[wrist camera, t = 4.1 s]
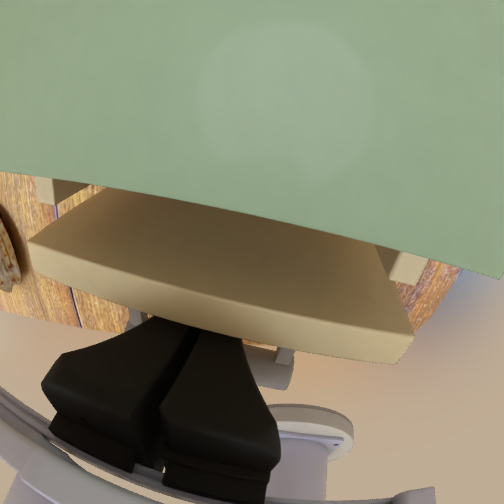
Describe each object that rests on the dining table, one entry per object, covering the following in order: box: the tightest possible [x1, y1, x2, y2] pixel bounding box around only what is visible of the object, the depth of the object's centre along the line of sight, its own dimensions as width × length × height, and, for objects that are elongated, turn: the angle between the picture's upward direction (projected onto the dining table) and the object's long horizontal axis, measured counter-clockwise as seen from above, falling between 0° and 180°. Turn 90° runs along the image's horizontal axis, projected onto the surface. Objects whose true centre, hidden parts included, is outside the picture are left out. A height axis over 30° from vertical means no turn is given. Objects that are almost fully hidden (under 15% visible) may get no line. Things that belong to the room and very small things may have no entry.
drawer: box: [27, 176, 429, 390], centre depth 8 cm, size 18×11×7 cm, turn 170°
